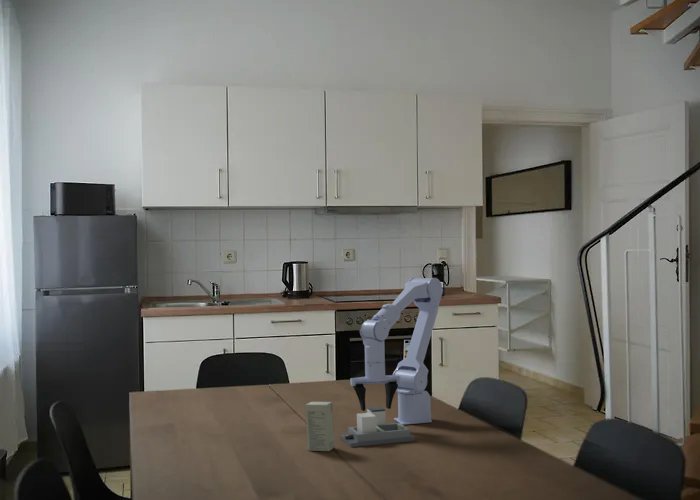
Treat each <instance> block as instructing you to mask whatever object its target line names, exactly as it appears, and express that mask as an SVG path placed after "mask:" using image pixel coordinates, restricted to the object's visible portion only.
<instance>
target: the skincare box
mask: <svg viewBox="0 0 700 500" xmlns="http://www.w3.org/2000/svg"><path fill="white" fill-rule="evenodd" d="M304 406H305V423H306V441H307V451H309V452H310V451H312V452H314V451H315V452H319V451H320V452H330V451H332V450H333V449H334V448H335V431H334V411H333V410H334V409H333V402H332V401H310V402H308V403H306V404H305V405H304Z"/></svg>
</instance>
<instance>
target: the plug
mask: <svg viewBox="0 0 700 500" xmlns="http://www.w3.org/2000/svg"><path fill="white" fill-rule="evenodd" d="M366 413H372V414H374V415H375V416H376V425H379V424H387V421H386V414H387V412H386V409H385V408H384V407H382V406H379V405H378V406H367V408H366Z"/></svg>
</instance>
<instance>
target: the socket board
mask: <svg viewBox="0 0 700 500" xmlns="http://www.w3.org/2000/svg"><path fill="white" fill-rule="evenodd" d="M347 430H348V431H347V433H346V434H340V439H341V440H342V442H344V443H346V445H348V446H349V447H350V448H356V447H367V446H377V445H385V444H386V445H387V444H395V443H407V442H415V441H416V437H415V436H413V434H411V429H410V428H409V427H407V426H405V425H402V424H401V423H399V422H392V423H386V424H379V425H376V416H375V415H374V414H372V413H367V412H364V413H363V412H362V413H356V426H348V427H347Z"/></svg>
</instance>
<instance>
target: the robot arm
mask: <svg viewBox="0 0 700 500" xmlns="http://www.w3.org/2000/svg"><path fill="white" fill-rule="evenodd" d="M443 293H444V289H443V285H442V282H441V281H440V280H439V279H438V278H437V277H432V278H430V277H425V278H424V277H411V278H409V280H408V281H407V282H405V285H404V289H403V290H402V291H401V293H399V294H398V296H397V297H396V298H395V299H394V301H392V303H387V304H383V305H382V306H381V308H380V310H379V311H378V312H376V314H374V315H373V317H372V318H371V319H366V320H365V321H364V322H363V323H362V324H361V326H360V329H359V334H360V337H361V338H362V344H363V345H364V374H365V376H359V377H358V376H357V377H351V378H350V377H349V378H350V381H349V383H350V386H351V387H352V388H353V389H354V391H355V394H356V396H357V398H358V401H359V406H360V410H361V411H362V412H366V409H367V408H366V391H367V388H366V387H365V386H366V385H367V386H368V385H377V384H380V385H381V384H384V389H385V408H386V409H388V410H391V408H392V403H393V400H394V396H395V393H397V410H398V411H397V413H398V414H397V417H394V418H393V420H394V421H396V423H401V424H402V425H404V426H405V425H415V424H426V423H432V422H433V420H432V410H431V409H432V407H431V396H430V393H429V392H428V391H427V390H425V389H426V388H427V385H428V374H429V369H428V368H427V366H426V365H425V363H424V362H425V361H424V360H425V359H426V355H427V350H428V346H429V343H430V340H431V337H432V334H433V329H434V325H435V323H436V319H437V315H438V312H439V306H440V302H441V299H442V296H443ZM411 303H414V305H415V306H416V307H417V308H418V311H419V312H418V314H417V319H416V322H415V326H414V330H413V333H412V336H411V340H410V342H409V345H408V350H407V353H406V356H405V358H403V359H402V360H401V361H399V362H398V363H397V366H396V368H395V370H394V371H393V373H392V374H391V375H390V374H388V375H387V374H386V359H385V355H386V354H385V352H386V351H385V340H386V339H388V336H389V334H390V333H389V332H390V330H391V328H392V327H393V325H394V324H396V322H398V321H399V319H400V318H401V312H402V311H403V310H404V309H405V308H407V307H408V306H409V305H410V304H411Z"/></svg>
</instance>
